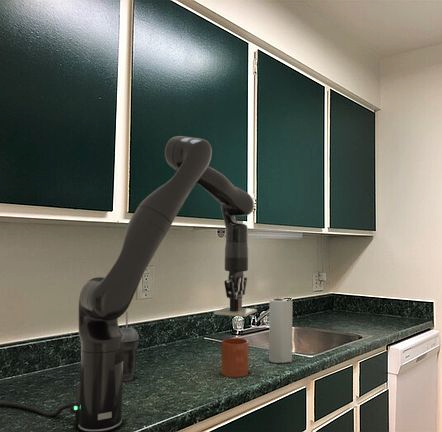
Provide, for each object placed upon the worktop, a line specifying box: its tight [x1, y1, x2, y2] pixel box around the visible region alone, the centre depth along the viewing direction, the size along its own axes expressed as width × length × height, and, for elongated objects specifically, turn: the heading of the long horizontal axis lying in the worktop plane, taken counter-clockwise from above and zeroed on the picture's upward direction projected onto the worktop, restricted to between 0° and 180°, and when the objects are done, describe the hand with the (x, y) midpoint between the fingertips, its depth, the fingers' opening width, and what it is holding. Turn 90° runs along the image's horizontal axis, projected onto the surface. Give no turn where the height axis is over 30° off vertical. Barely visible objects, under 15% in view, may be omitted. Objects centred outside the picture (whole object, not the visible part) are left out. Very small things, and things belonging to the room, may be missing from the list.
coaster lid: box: [213, 294, 258, 318], centre depth 144 cm, size 10×10×6 cm
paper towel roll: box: [268, 298, 294, 364], centre depth 157 cm, size 7×6×21 cm
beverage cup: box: [119, 310, 140, 382], centre depth 136 cm, size 7×7×20 cm
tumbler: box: [220, 337, 250, 378], centre depth 143 cm, size 9×9×10 cm
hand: (235, 309), depth 144 cm, fingers closed on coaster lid, 3 cm apart
